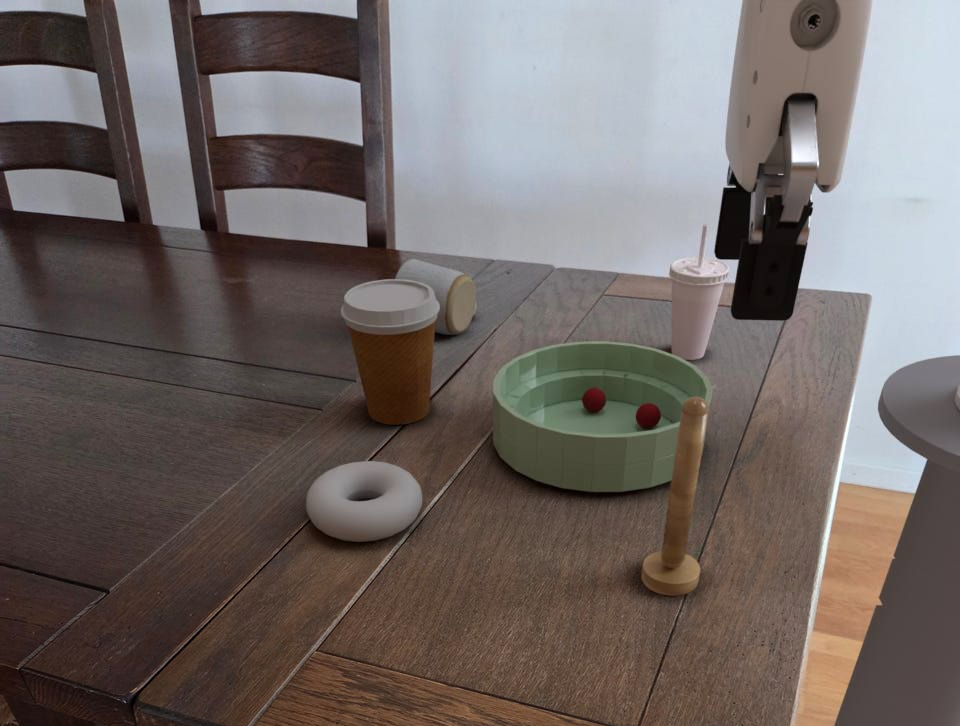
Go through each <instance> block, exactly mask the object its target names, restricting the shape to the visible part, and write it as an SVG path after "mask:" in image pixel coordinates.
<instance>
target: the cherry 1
mask: <svg viewBox="0 0 960 726" xmlns="http://www.w3.org/2000/svg"><path fill="white" fill-rule="evenodd" d="M582 403H583V406H584V408H585V409H586V410H587V411H589V412H598V411H600V410H602V409H603V408H604V406H605V404H606V396H605V394H604V392H603V391H602V390H601V389H598V388H591V389H588V390H587V391H586V392H585V393H584V395H583V398H582Z"/></svg>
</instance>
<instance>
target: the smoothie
mask: <svg viewBox="0 0 960 726" xmlns="http://www.w3.org/2000/svg"><path fill="white" fill-rule="evenodd" d="M708 232H709V224H702V231H701V238H700V246H699V252H698V256H692V257H691V256H690V257H682V258H679V259H676V260H674V261H673V262H671V264H670V266H669V272H668V276H669V278H670V279H671V354H673V355H676V356H678V357H681V358H682V359H684V360H686V361H694V360H699V359H701V358H703V357H704V356H705V353H706V351H707V346H708V342H709V339H710V335H711V332H712V328H713V326H714V321H715V318H716V315H717V310H718V307H719V303H720V300H721V296H722V293H723V289H724V286H725V282H726V281H728V280H729V277H730V266H729V265H728V264H727V263H726V262H724V261H722V260H720V259H717V258H716V259H715V258H710V257H705V253H706V246H707V238H708Z"/></svg>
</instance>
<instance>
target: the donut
mask: <svg viewBox="0 0 960 726" xmlns="http://www.w3.org/2000/svg"><path fill="white" fill-rule="evenodd" d="M305 507H306V508H305V510H306V513H307V515H308V517H309V519H310V521H311V523H312V524H313V525H314V527H315V528H317V530H320V531H321V532H322V533H324V534H325V535H326V536H329V537H332V538H335V539H338V540H341V541H345V542H355V543H361V542H364V543H365V542H376V541H379V540H383V539H387V538H390V537H392V536H394V535H397V534H398V533H400V532H403V531H404V530H405V529H407V528H408V527H409V526H410V525H411V524H412V523H413V522H414V521H416V519H417V517H418V516H419V513H420V511H421V508H422V507H423V495H422V488H421V485H420V484H419V482H418V481H417V479H416V478H415V477H414V476H413V474H411V473H410V472H409V471H407V470H405V469H403V468H402V467H400V466H398V465H395V464H392V463H388V462H385V461H374V460H365V461H363V460H362V461H353V462H349V463H345V464H341V465H337V466H336V467H334V468H331V469H329V470H327V471H325V472H323V473H322V474H321V475H319V476H318V477H317V478H316V479H315V480H314V481H313V482H312V484H311V486H310V488H309V489H308V491H307V493H306V503H305Z"/></svg>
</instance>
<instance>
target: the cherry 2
mask: <svg viewBox="0 0 960 726" xmlns="http://www.w3.org/2000/svg"><path fill="white" fill-rule="evenodd" d="M660 417H661V413H660V410H659V408H658V407H657V406H656V405H654V404H651V403H646V404H643V405H642V406H640V407H639V408H638V410H637V412H636V421H637V423H638V424H639V425H640V426H641V427H643V428H646V429H649V428H653V427H655V426H656V425H657V424H658V423H659V421H660Z"/></svg>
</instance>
